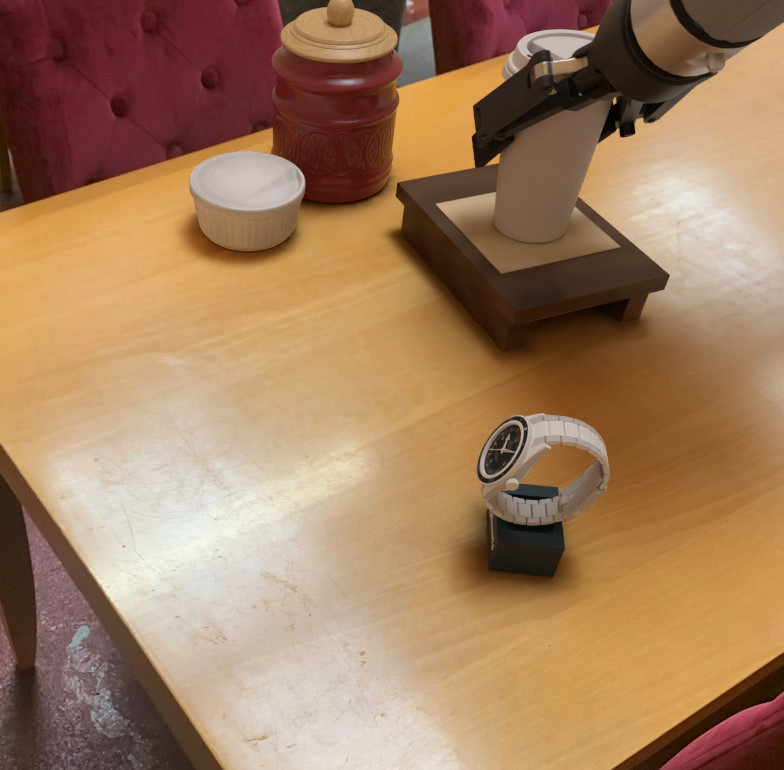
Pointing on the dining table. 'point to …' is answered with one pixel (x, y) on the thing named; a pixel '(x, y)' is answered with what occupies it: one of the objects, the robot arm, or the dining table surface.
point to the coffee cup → (546, 152)
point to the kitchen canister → (337, 101)
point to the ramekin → (247, 199)
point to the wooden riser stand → (521, 257)
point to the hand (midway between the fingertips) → (525, 147)
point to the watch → (534, 491)
